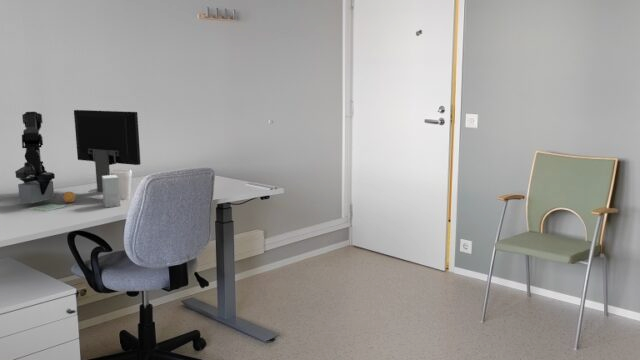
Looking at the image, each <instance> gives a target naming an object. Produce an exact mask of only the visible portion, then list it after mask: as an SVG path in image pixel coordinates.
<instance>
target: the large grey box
mask: <svg viewBox="0 0 640 360" xmlns="http://www.w3.org/2000/svg"><path fill="white" fill-rule="evenodd" d="M37 181H38V180H37ZM37 181H32V182H27V183H24V182H23V183H18V186H17V188H18V195H19V196H18V197H19V202H21V203H22V202H23V203H28V204H33V203H37V202H41V201H47V200H50V199H54V198H55V191H54V190H55V189H54V180H51V181H50V183H49V185H48V187H47V189H46V191H45V194H44V195H42V194H41V189H40V184H39V183H38V182H37Z"/></svg>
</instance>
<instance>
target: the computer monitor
mask: <svg viewBox="0 0 640 360" xmlns="http://www.w3.org/2000/svg"><path fill="white" fill-rule="evenodd" d="M73 116H74V117H73V119H74V130H75V141H76V154H77V160H78V161H84V162H85V161H89V162H94V164H95V165H94V166H95V178H96V179H95V180H96V188H93V189H89V190H88V193H96V192H97V194H103V187H102V176H107V175H111V171H110V169H111V168H110V166H112V165H117V164H119V165H120V164H121V165H123V164H124V165H133V166H138V165H141V163H142V162H141V151H140V150H141V149H140V135H139V133H140V132H139V116H138V112H137V111H120V110H115V111H114V110H91V109H90V110H89V109H85V110H84V109H75V110H73Z"/></svg>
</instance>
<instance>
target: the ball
mask: <svg viewBox="0 0 640 360" xmlns="http://www.w3.org/2000/svg"><path fill="white" fill-rule="evenodd" d="M62 197H63V200H64V201H65V202H66V203H72V202H74V201H75V199H76V195H75V193H74V192H73V191H66V192H65V193H64V194H63V196H62Z"/></svg>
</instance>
